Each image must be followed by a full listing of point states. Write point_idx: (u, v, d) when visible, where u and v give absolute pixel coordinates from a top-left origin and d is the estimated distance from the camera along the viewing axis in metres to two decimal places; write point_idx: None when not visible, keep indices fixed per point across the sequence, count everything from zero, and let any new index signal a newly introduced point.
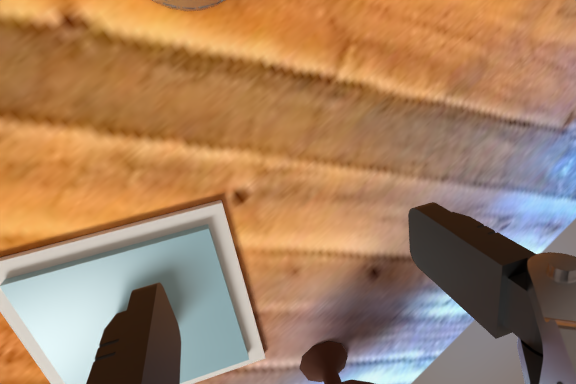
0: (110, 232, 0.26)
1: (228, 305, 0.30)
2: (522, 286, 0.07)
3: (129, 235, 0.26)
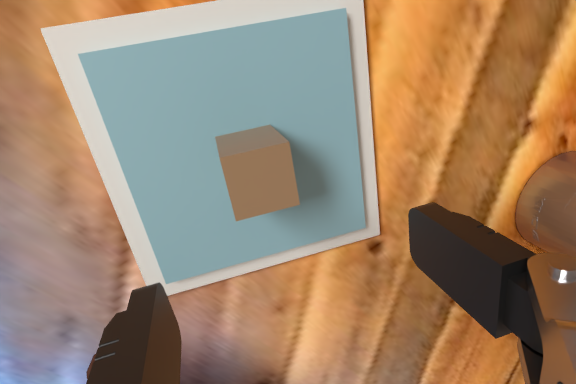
0: (371, 131, 0.24)
1: (264, 252, 0.25)
2: (522, 286, 0.07)
3: (365, 149, 0.25)
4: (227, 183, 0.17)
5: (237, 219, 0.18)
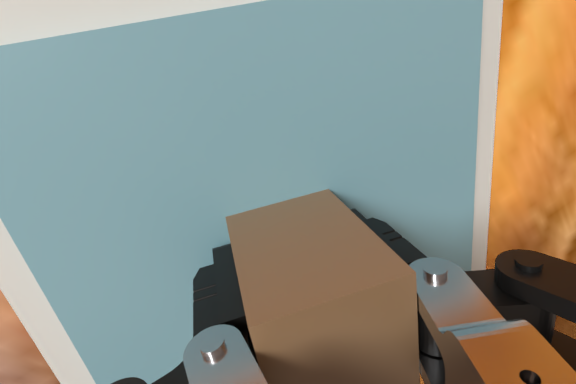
0: (489, 186, 0.14)
1: None
2: None
3: (475, 215, 0.15)
4: (265, 377, 0.07)
5: None
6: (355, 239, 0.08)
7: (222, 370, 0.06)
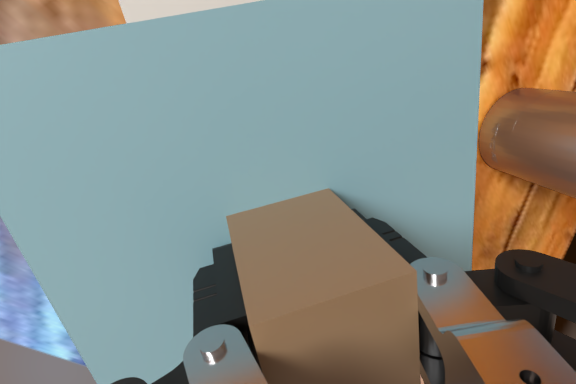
0: None
1: None
2: None
3: None
4: (266, 376, 0.07)
5: None
6: (356, 238, 0.08)
7: (223, 369, 0.06)
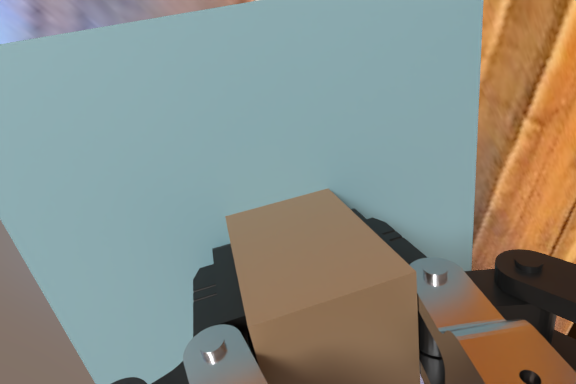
0: None
1: None
2: None
3: None
4: (265, 377, 0.07)
5: None
6: (355, 238, 0.08)
7: (223, 369, 0.06)
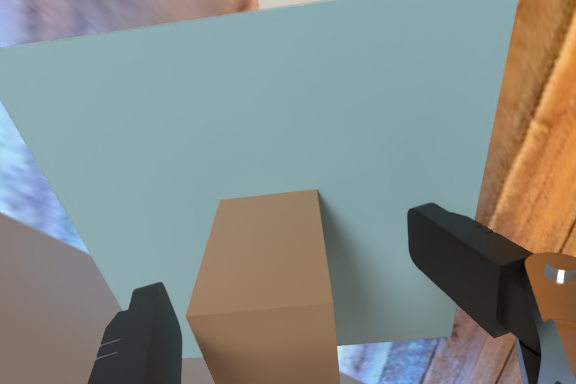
0: None
1: None
2: (520, 286, 0.08)
3: None
4: (202, 350, 0.09)
5: None
6: (306, 254, 0.09)
7: None
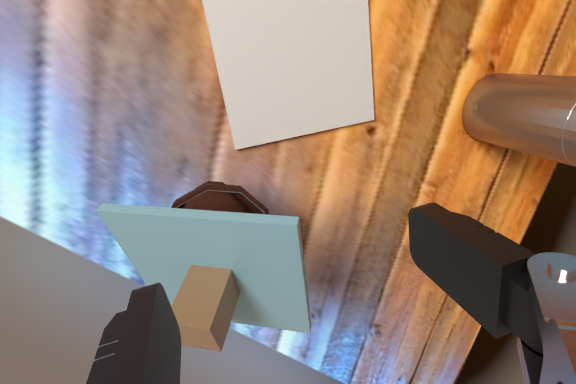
0: (370, 47, 0.40)
1: None
2: (522, 286, 0.07)
3: (365, 59, 0.41)
4: None
5: None
6: (210, 306, 0.25)
7: None
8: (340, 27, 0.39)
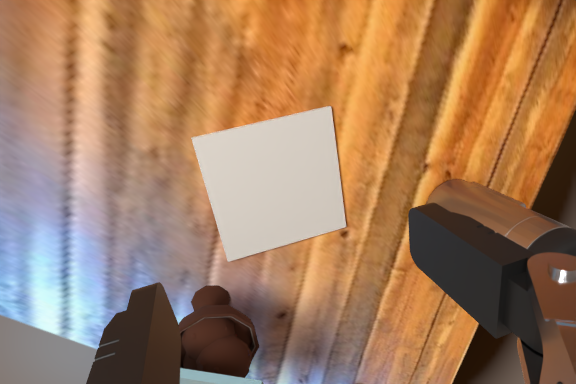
0: (339, 174, 0.48)
1: None
2: (522, 286, 0.07)
3: (336, 183, 0.48)
4: None
5: None
6: None
7: None
8: (312, 162, 0.46)
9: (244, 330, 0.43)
